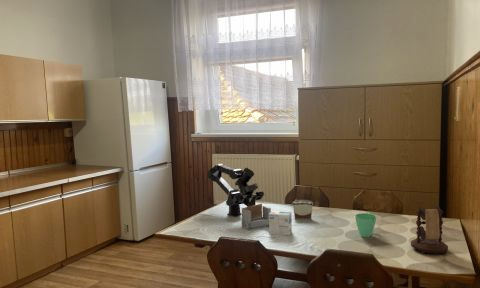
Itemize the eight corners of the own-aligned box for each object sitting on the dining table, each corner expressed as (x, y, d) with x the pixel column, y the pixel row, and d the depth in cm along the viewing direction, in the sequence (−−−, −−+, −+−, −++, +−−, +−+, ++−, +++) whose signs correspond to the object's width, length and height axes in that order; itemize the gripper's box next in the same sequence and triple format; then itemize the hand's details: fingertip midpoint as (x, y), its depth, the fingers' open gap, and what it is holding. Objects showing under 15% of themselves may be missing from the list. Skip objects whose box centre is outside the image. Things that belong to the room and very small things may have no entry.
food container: (312, 216, 223) (312, 199, 222) (313, 219, 217) (313, 202, 216) (291, 216, 224) (291, 199, 223) (292, 219, 218) (292, 202, 217)
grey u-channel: (241, 227, 205) (241, 209, 204) (266, 222, 212) (266, 205, 211) (247, 230, 200) (246, 212, 199) (272, 225, 207) (272, 207, 206)
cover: (242, 226, 206) (241, 208, 205) (261, 220, 215) (260, 203, 214) (243, 226, 206) (242, 208, 205) (262, 221, 214) (262, 204, 213)
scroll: (420, 256, 160) (421, 210, 158) (405, 244, 174) (405, 202, 173) (455, 255, 160) (456, 209, 158) (436, 243, 174) (437, 201, 173)
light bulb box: (292, 231, 196) (291, 211, 195) (289, 235, 190) (289, 215, 189) (272, 230, 199) (271, 210, 198) (268, 234, 193) (268, 213, 192)
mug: (373, 240, 181) (374, 219, 180) (353, 237, 186) (353, 217, 185) (379, 231, 193) (379, 212, 192) (359, 228, 198) (359, 210, 197)
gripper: (234, 181, 210) (244, 204, 202) (262, 177, 219) (273, 199, 211) (228, 192, 218) (237, 215, 209) (255, 188, 227) (266, 210, 218)
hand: (254, 209), depth 212 cm, fingers closed
